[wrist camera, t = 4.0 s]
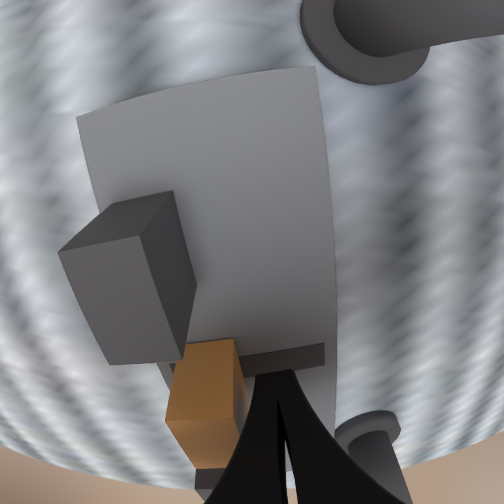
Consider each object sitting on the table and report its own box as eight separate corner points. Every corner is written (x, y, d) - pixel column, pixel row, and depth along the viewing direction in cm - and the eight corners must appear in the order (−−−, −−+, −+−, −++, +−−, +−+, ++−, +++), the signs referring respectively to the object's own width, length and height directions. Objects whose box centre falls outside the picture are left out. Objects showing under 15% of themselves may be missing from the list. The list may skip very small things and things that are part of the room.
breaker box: (296, 76, 10) (358, 43, 5) (323, 426, 19) (342, 510, 13) (111, 113, 11) (4, 129, 5) (219, 440, 19) (218, 525, 13)
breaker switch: (233, 338, 11) (233, 417, 8) (248, 394, 13) (251, 465, 9) (179, 344, 11) (164, 420, 8) (201, 399, 13) (195, 468, 10)
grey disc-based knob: (405, -21, 8) (511, -76, 2) (426, 85, 11) (557, 92, 4) (288, -28, 9) (337, -134, 2) (311, 87, 11) (399, 68, 4)
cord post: (401, 403, 19) (437, 485, 12) (390, 439, 21) (416, 510, 14) (331, 421, 19) (354, 513, 12) (329, 454, 21) (347, 531, 14)
